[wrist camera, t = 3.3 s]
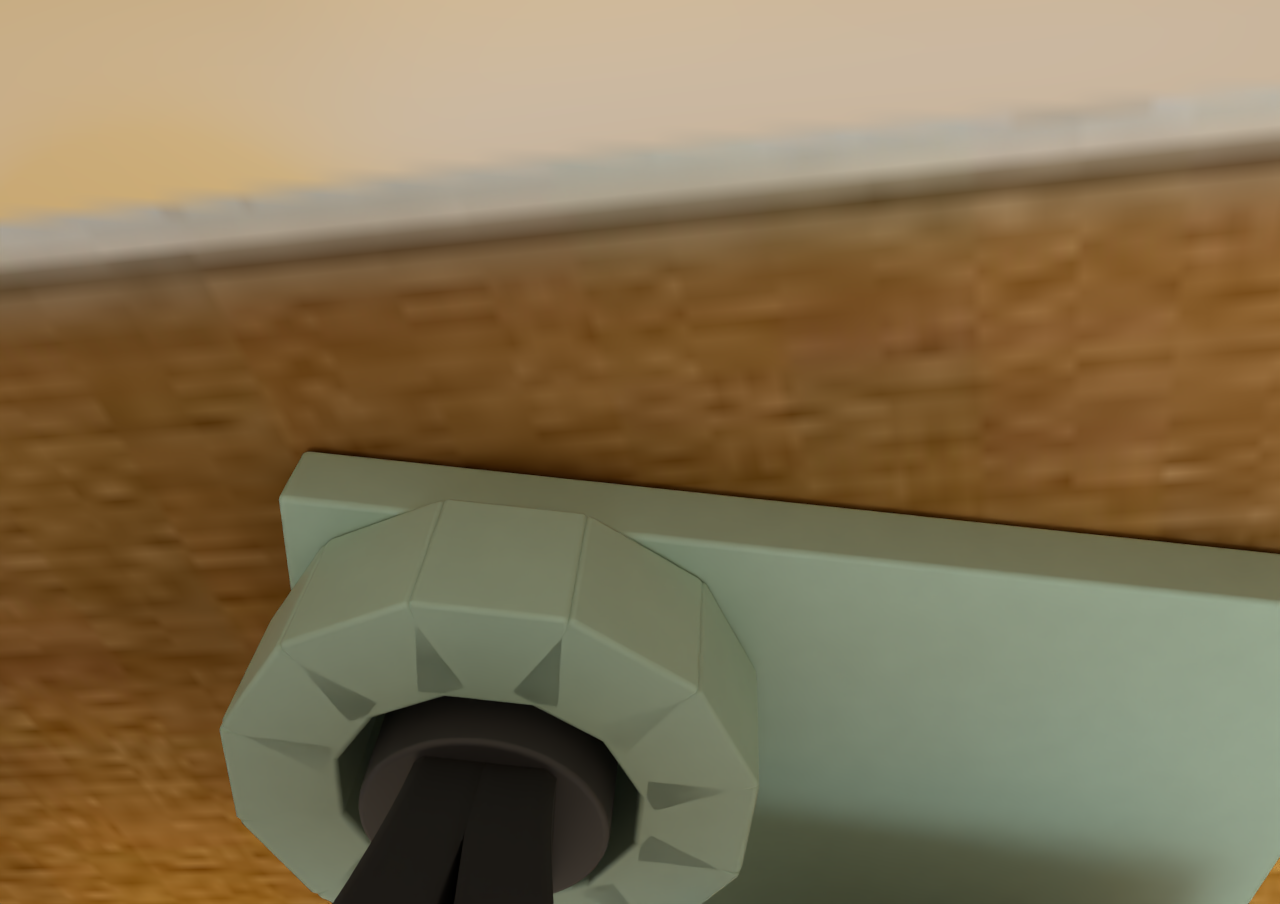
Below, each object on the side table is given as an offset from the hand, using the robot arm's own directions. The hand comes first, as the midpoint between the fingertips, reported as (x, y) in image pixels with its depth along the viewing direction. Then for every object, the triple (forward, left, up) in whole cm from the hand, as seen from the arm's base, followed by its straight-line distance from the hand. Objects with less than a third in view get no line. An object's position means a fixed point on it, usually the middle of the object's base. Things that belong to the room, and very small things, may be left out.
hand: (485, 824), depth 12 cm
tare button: (0, 0, -2) cm, 1 cm away
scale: (+3, -3, -3) cm, 5 cm away
